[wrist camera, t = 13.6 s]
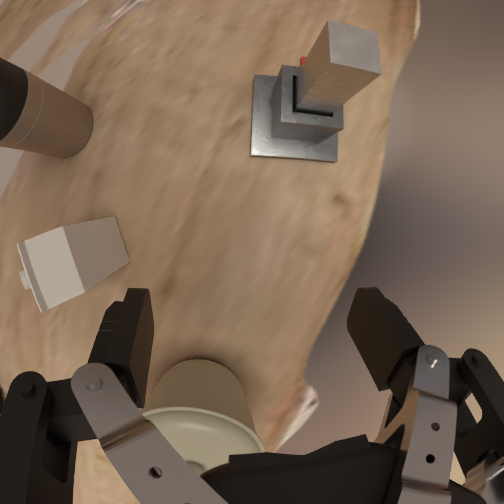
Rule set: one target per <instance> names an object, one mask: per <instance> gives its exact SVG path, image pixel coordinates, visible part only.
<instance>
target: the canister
mask: <svg viewBox="0 0 504 504" xmlns="http://www.w3.org/2000/svg"><path fill="white" fill-rule="evenodd" d="M140 412H141V413H142V415H143V416H144V417H145V418H146V419H147V420H150V421H151V422H152V423H153V424H154V425H155V426H156V427H157V428H158V430H159V431H160V432H161V433H162V435H163V436H164V437H165V438H166V439H167V441H168V442H169V443H170V444H171V445H172V446H173V448H174V449H175V450H176V451H177V452H178V453H179V454H180V456H181V457H182V458H183V459H184V460H185V461H186V462H187V463H188V464H189V465H190V466H191V468H192V469H193V470H194V471H195V472H196V473H197V474H198V475H199V476H200V475H201V474H203V473H204V472H206V471H208V470H210V469H212V468H214V467H216V466H219V465H222V464H225V463H228V458H229V455H233V454H249V453H261V452H266V450H265V447H264V444H263V442H262V440H261V439H260V437H259V436H258V435H257V434H256V431H255V428H254V424H253V421H252V417H251V413H250V409H249V406H248V403H247V399H246V396H245V393H244V390H243V388H242V385H241V383H240V382H239V381H238V379H237V377H236V376H235V375H234V374H233V373H232V372H231V371H229V370H228V368H226V367H224V366H222V365H221V364H218V363H216V362H212V361H210V360H203V359H194V360H188V361H183V362H181V363H177V364H176V365H175V366H172V367H171V368H170V369H169V370H168V371H166V372H165V374H164V375H163V376H162V378H161V379H160V380H159V382H158V383H157V385H156V387H155V388H154V390H153V391H152V393H151V394H150V396H149V398H148V399H147V401H146V403H145V405H144V408H142V409H141V411H140Z"/></svg>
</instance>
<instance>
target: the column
mask: <svg viewBox="0 0 504 504" xmlns="http://www.w3.org/2000/svg"><path fill="white" fill-rule="evenodd" d="M381 74H382V72H381V62H380V54H379V46H378V39H377V32H374V31H370V30H367V29H363V28H359V27H355V26H351V25H347V24H342V23H338V22H333V21H327V23H326V24H325V26H324V28H323V29H322V31H321V33H320V35H319V36H318V38H317V40H316V42H315V43H314V45H313V47H312V49H311V51H310V52H309V54H308V56H307V58H306V59H305V61H304V63H303V65H302V67H301V69H300V70H299V72H298V74H297V76H296V78H295V79H294V81H293V105H292V112H295V113H304V114H313V115H321V116H329V115H331V114H332V113H333V112H334V111H335V110H337V109H338V108H339V107H340V106H342V105H343V104H344V103H345V102H347V101H348V100H349V99H350V98H352V97H353V96H354V95H355V94H357V93H358V92H359V91H360V90H362V89H363V88H364V87H366V86H367V85H368V84H369V83H371V82H372V81H373V80H375V79H376V78H377V77H379V76H380V75H381Z"/></svg>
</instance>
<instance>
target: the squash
mask: <svg viewBox="0 0 504 504" xmlns="http://www.w3.org/2000/svg"><path fill="white" fill-rule="evenodd" d="M2 409H3V400H2V398H1V396H0V414H1V412H2Z"/></svg>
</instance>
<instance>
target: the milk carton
mask: <svg viewBox="0 0 504 504" xmlns="http://www.w3.org/2000/svg"><path fill="white" fill-rule="evenodd" d="M17 247H18V250H19V254H20V257H21V260H22V263H23V266H24V269H23V270H20V271H19V273H20V277H21V280H22V283H23V286H24V288H25V289H26V290H28V289H30V288H31V289H32V292H33V294H34V297H35V299H36V302H37V304H38V307H39V309H40V312H41V313H43V312H45V311H46V310H48V309H50V308H52V307H54V306H56V305H58V304H61V303H63V302H65V301H67V300H69V299H72V298H74V297H76V296H78V295H80V294H83V293H85V292H86V291H87V290H89V289H90V288H92V287H93V286H95V285H96V284H98V283H99V282H101V281H102V280H103V279H105V278H106V277H108V276H109V275H111V274H112V273H114V272H115V271H117V270H118V269H120V268H122V267H123V266H125V265H126V264H128V263H129V262H130V261H129V257H128V254H127V252H126V249H125V246H124V243H123V240H122V237H121V234H120V230H119V227H118V224H117V221H116V218H115V217H108V218H103V219H97V220H92V221H87V222H81V223H76V224H71V225H66V226H61V227H59V228H56V229H53V230H51V231H48V232H45V233H43V234H40V235H38V236H35V237H33V238H30V239H28V240H25V241H22V242H18V243H17Z"/></svg>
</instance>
